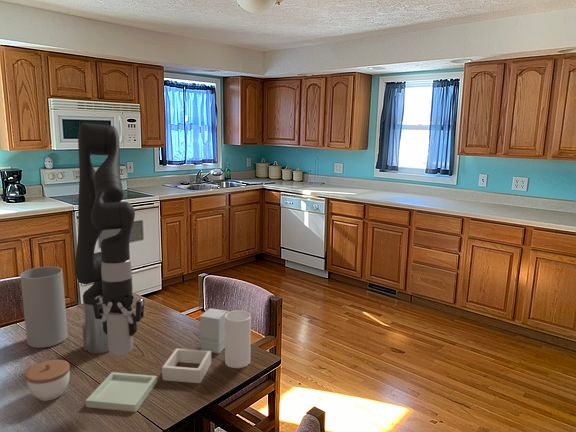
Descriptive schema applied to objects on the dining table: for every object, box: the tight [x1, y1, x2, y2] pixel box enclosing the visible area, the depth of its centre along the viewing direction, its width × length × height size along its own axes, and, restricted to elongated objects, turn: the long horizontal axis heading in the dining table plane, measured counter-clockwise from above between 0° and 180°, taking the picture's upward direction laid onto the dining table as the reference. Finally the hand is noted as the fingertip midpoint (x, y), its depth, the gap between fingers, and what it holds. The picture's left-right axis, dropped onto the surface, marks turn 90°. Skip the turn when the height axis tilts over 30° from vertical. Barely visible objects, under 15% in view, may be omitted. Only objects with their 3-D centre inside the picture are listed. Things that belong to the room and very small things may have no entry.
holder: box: [161, 348, 212, 384], centre depth 134 cm, size 12×12×4 cm
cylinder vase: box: [19, 266, 69, 349], centre depth 149 cm, size 12×12×25 cm
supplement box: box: [199, 308, 229, 354], centre depth 148 cm, size 7×7×13 cm
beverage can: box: [106, 310, 134, 357], centre depth 119 cm, size 6×6×12 cm
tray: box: [85, 371, 158, 413], centre depth 122 cm, size 14×14×2 cm
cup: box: [224, 309, 252, 369], centre depth 139 cm, size 8×8×16 cm
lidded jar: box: [25, 359, 71, 402], centre depth 121 cm, size 11×11×9 cm
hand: (120, 333), depth 119 cm, fingers closed on beverage can, 6 cm apart
